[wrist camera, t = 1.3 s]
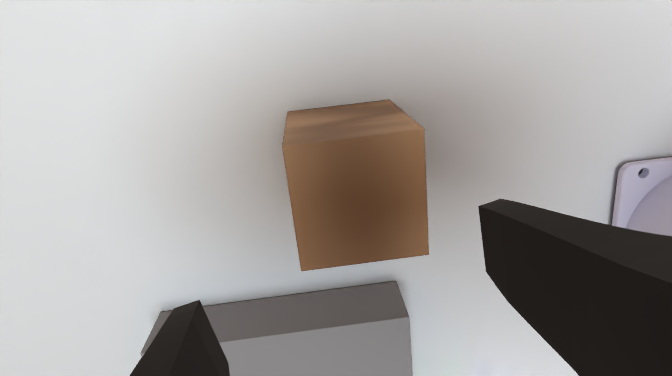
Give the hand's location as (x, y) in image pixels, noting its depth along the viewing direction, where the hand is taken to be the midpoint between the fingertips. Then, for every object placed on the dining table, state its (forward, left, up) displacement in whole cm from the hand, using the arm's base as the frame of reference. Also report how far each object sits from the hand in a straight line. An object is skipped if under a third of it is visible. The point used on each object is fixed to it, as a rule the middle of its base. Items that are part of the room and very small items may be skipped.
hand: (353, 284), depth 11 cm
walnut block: (-1, 0, -10) cm, 10 cm away
